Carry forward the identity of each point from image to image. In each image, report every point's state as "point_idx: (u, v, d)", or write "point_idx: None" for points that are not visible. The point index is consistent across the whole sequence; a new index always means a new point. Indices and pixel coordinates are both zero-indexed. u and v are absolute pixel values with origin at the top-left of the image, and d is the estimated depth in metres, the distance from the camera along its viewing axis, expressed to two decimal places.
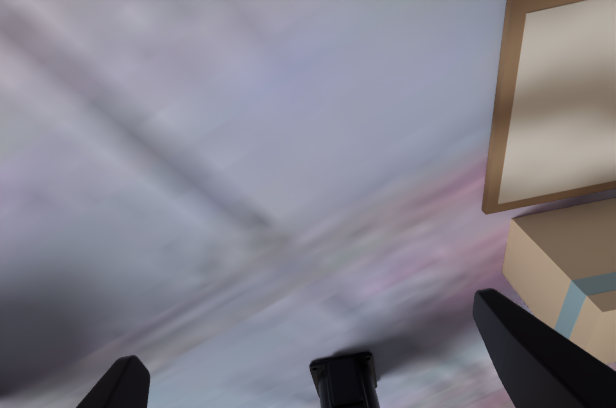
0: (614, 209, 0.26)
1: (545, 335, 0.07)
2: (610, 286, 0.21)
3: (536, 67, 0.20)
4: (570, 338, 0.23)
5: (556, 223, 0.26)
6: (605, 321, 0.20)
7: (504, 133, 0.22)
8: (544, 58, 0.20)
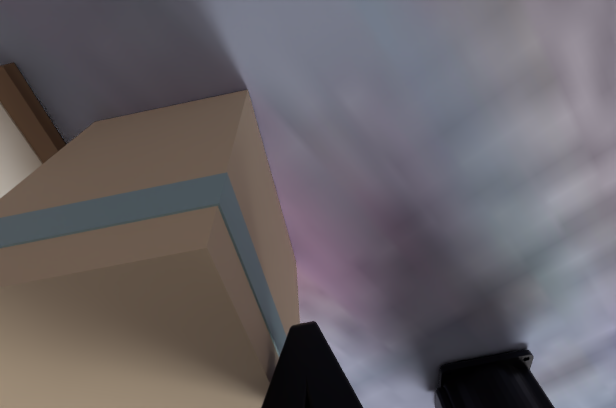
0: None
1: (329, 375, 0.07)
2: None
3: None
4: None
5: None
6: None
7: None
8: None
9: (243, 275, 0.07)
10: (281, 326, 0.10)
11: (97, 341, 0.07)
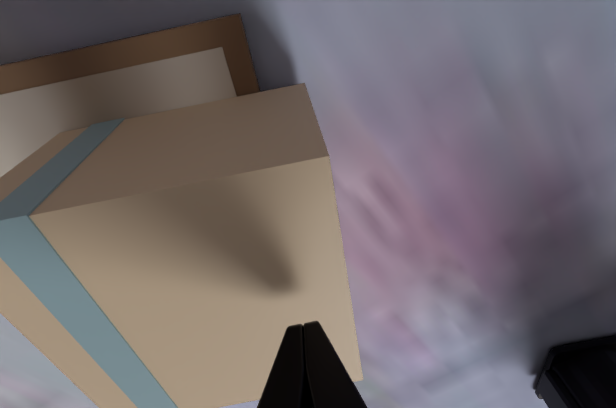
0: None
1: (332, 374, 0.07)
2: None
3: None
4: None
5: None
6: None
7: None
8: None
9: (21, 283, 0.08)
10: (132, 355, 0.10)
11: None
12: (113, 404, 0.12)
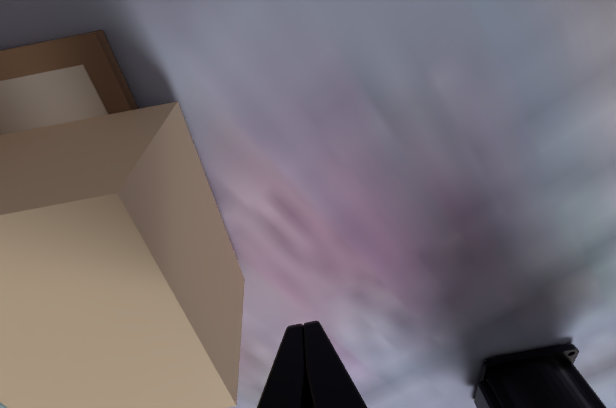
0: None
1: (332, 374, 0.07)
2: None
3: None
4: None
5: None
6: None
7: None
8: None
9: None
10: None
11: None
12: None
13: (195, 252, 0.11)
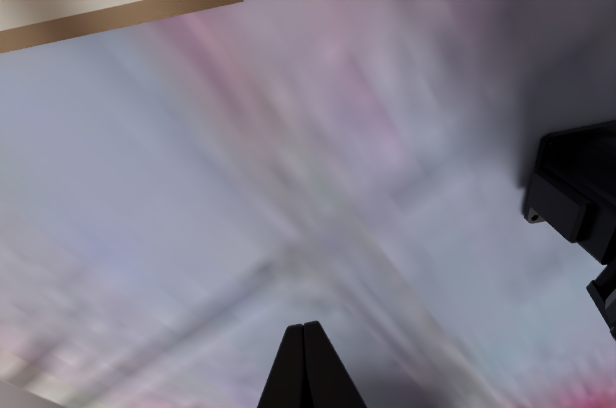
0: None
1: (332, 374, 0.07)
2: None
3: None
4: None
5: None
6: None
7: (93, 18, 0.15)
8: None
9: None
10: None
11: None
12: None
13: None
